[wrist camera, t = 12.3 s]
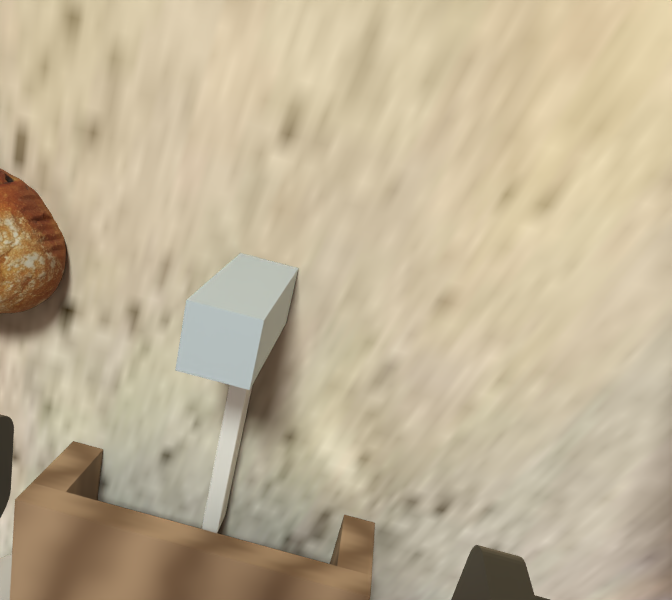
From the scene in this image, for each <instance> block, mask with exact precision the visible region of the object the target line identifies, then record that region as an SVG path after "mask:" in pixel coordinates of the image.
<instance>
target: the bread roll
mask: <svg viewBox="0 0 672 600" xmlns="http://www.w3.org/2000/svg"><path fill="white" fill-rule="evenodd" d="M65 259H66V248H65V241H64V237H63V235H62V233H61V231H60V229H59V228H58V225H57V223H56V222H55V221H54V219H53V217H52V214H51V213H50V211H49V210H48V208H47V207H46V205H45V204H44V202H43V200H42V199H41V198H40V196H39V195H38V194H37V193H36V191H35V190H33V189H32V188H31V187H29V186H28V185H27V184H25V183H24V182H23V181H22V180H20V179H19V178H17V177H15V176H13V175H11V174H9V173H7V172H6V171H4V170H2V169H0V313H15V312H22V311H26V310H28V309H31V308H33V307H35V306H37V305H39V304H40V303H42V302H43V301H45V300H46V299H48V298H49V297H50V296H51V295H52V294H53V293H54V291H55V290H56V288H57V286H58V285H59V283H60V281H61V279H62V276H63V272H64V269H65Z"/></svg>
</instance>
